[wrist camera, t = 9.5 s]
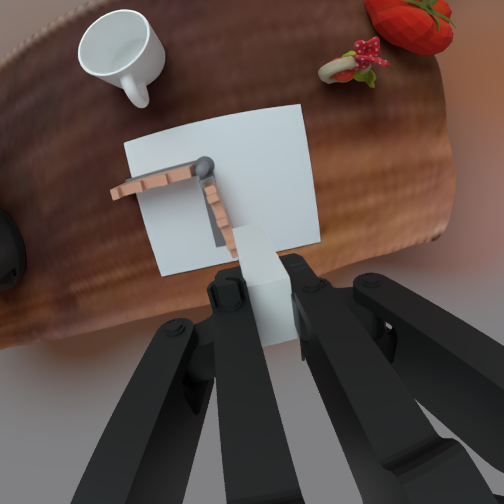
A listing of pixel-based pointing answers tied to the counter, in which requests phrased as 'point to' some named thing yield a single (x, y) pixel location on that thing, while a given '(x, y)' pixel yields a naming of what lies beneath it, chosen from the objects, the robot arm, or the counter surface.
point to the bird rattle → (354, 64)
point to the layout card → (227, 185)
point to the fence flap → (219, 212)
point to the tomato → (413, 24)
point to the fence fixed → (159, 179)
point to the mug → (123, 53)
